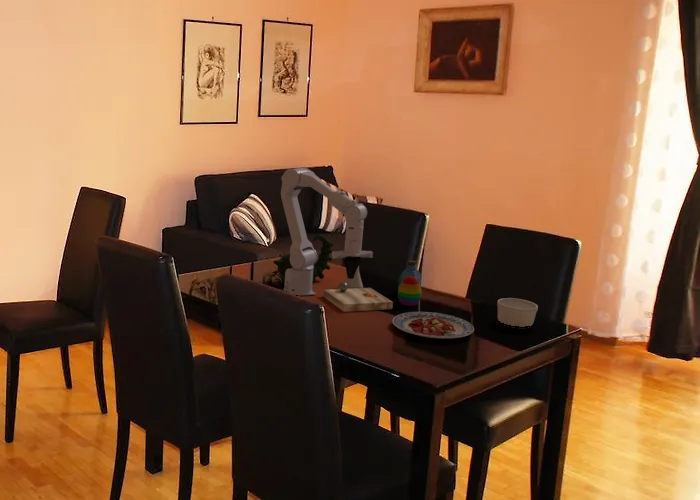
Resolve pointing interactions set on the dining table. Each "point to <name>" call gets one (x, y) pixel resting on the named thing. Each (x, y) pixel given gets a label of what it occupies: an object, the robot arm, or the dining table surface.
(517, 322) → the ramekin
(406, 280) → the decorative egg
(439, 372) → the dining table surface
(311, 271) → the robot arm
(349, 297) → the board
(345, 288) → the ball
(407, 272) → the perfume bottle
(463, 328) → the ceramic plate
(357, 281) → the flask
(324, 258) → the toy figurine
